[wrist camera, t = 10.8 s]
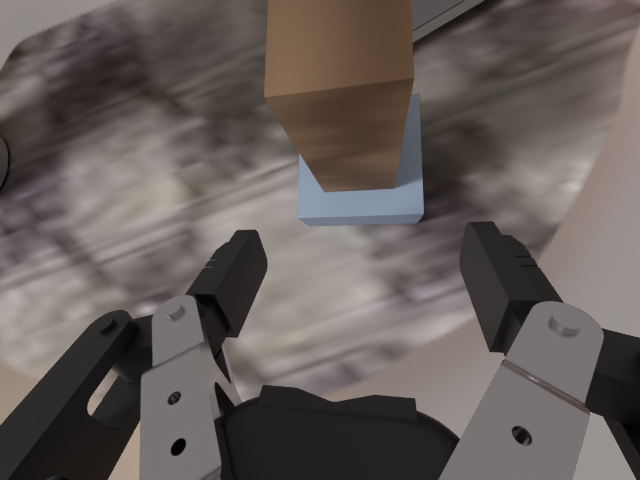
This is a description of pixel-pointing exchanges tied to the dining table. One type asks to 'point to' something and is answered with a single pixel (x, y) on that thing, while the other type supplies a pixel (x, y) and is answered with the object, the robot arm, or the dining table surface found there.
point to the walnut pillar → (342, 86)
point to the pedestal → (370, 204)
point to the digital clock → (436, 14)
